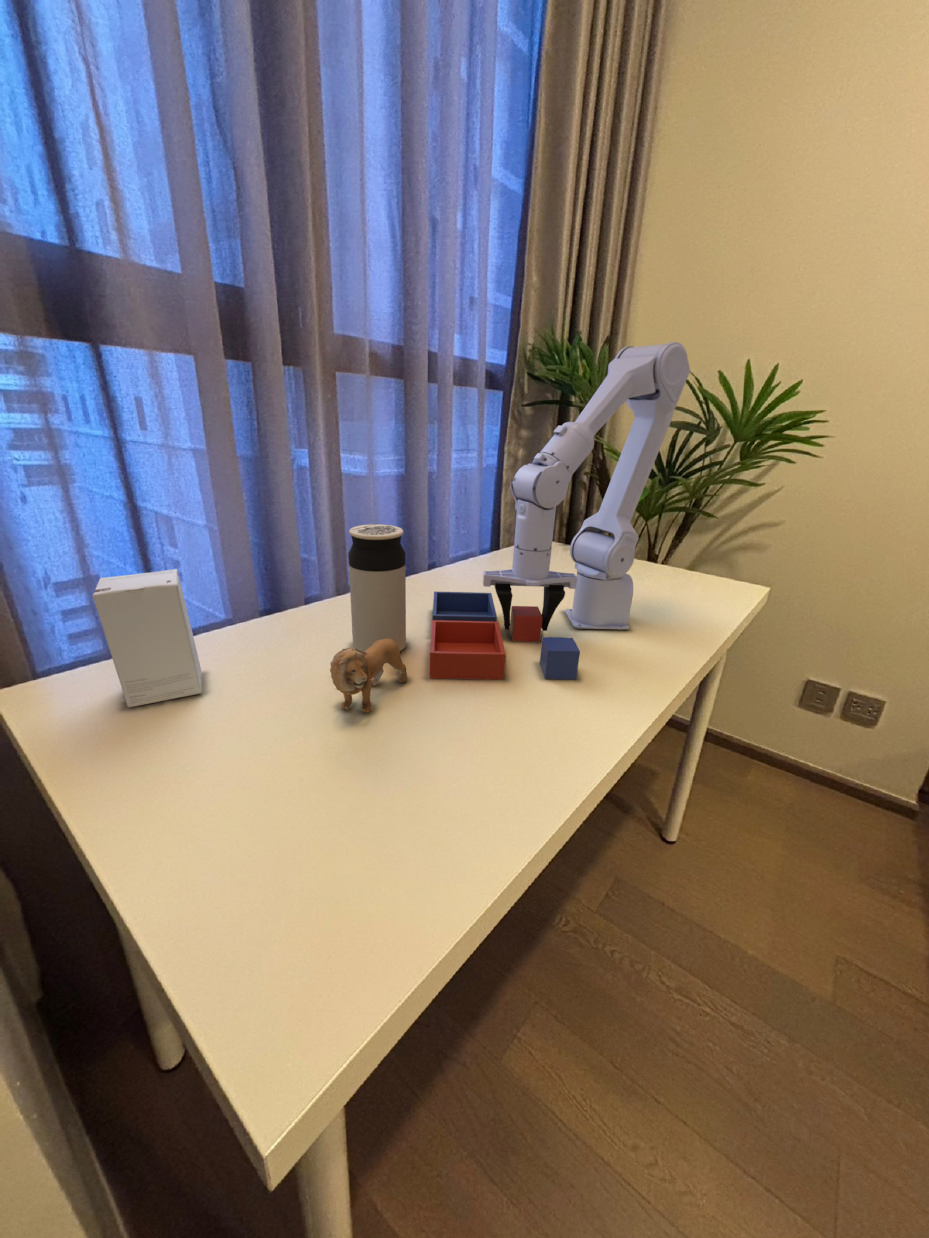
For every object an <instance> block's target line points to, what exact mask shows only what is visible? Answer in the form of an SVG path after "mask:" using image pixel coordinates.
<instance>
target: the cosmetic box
mask: <svg viewBox="0 0 929 1238" xmlns="http://www.w3.org/2000/svg"><path fill="white" fill-rule="evenodd" d="M92 599H93V602H94V605H95V609H96V611H97V614H98V617H99V620H100V623H101V627H102V630H103V633H104V636H105V637H104V638H105V641H106V644H107V646H108V649H109V653H110V655H111V658H112V662H113V665H114V668H115V671H116V674H117V678H118V681H119V684H120V687H121V691H122V693H123V697H124V699H125V703H126V705H127V706H126V707H127V708H134V707H138V706H143V705H149V704H153V703H158V702H163V701H168V700H173V699H179V698H184V697H190V696H194V695H200V694H202V692H203V691H202V689H203V688H202V687H203V686H202V685H203V683H202V682H203V681H202V679H203V678H202V667H201V663H200V659H199V658H200V657H199V655H198V650H197V646H196V642H195V637H194V634H193V630H192V625H191V621H190V617H189V612H188V608H187V604H186V599H185V595H184V591H183V586H182V583H181V579H180V574H179V571H178V569H177V568H174V569H167V570H166V569H165V570H158V571H150V572H142V573H134V574H125V575H117V576H116V575H115V576H107V577H100V578H99V580H98V583H97V585H96V587H95V589H94V592H93V594H92Z"/></svg>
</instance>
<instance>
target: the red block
mask: <svg viewBox="0 0 929 1238" xmlns="http://www.w3.org/2000/svg"><path fill="white" fill-rule="evenodd" d="M542 618H543V617H542V611H541V610H540V607H539V606H535V605H534V606H533V605H531V606H530V605H511V609H510V629H509V633H510V636H511V640H512V642H536V643H540V642H541V636H542V628H541V627H542Z"/></svg>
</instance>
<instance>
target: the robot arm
mask: <svg viewBox="0 0 929 1238" xmlns="http://www.w3.org/2000/svg"><path fill="white" fill-rule="evenodd" d="M688 358H689V357H688V354H687V350H686V348H685V346H684V345H683V344H682V343H680V342H678V341H670V342H668V343H661V344H650V345H641V346H632V345H629V346H625V347H623V348H621V349H620V350H619V352H617V354H616V355H615V357H614V359H612V360H611V361H610V362H609V363H608V364H607V365H608V366H607V374H606V376H605V378H604V379H603V380H602V382H601V384H600V385H599V386H598V388H597V389H596V390H595V393H594V394H593V395H592V397H591V398H590V400H588V402H587V403H586V405H585V407H584V408H583V410H582V411H581V412H580V414H579V415H578V417H576V419H575V420H574V421H567V422H564V423H563V424H562V425H557V426H556V428H554V430H553V436H552V437H550V440H549V441H548V442H547V443H546V444H545V446H544V447H543V448H542V449H541V450H540V452H537V453H536V455H535V456H534V457H533V460H532V462H531V463H527V464H524V465H522V466H521V467H520V468H519V469H518V471H517V472H516V473H515V474H514V477H513V480H512V481H511V482H510V483H509V488H510V489H509V490H510V493H511V495H512V497H513V500H514V510H515V511H516V515H515V530H514V541H513V553H512V554H513V555H512V567H511V569H501V570H500V569H499V570H483V573H482V575H483V576H482V583H483V584H482V586H483V587H488V588H489V587H492V586H494V589H495V594H496V596H497V598H498V602H499V603H500V607H501V610H502V616H503V617H502V618H503V627H504V630H505V631H510V620H511V607H512V602H513V601H512V600H513V592H512V587H542V588H543V601H542V611H541V614H542V617H543V618H542V627H541V631H542V632H547V631H548V629H549V625H550V622H551V620H552V617H553V615H554V613H555V612H556V610H557V609H558V607H559V606H560V604H561V602H562V601H563V600H564V599H565V596H566V591H565V588H568V589H570V590H574V592H573V600H572V607H571V608H566V609H565V610H564V612H565V615H566V616H567V618H568V620H569V621H570V624H572V626H573V628H574V629H585V630H629V629H630V626H629V621H630V614H631V610H632V609H631V608H632V603H633V599H634V598H633V597H634V580H633V577H632V576H631V574H629V573H628V572H629V571H630V569H631V568H632V566H633V564H634V562H635V557H636V556H635V554H636V547H637V544H638V541H639V539H640V538H639V535H638V533H637V531H636V530H635V528H634V526H633V525H632V523H631V521H632V519H633V517H634V514H635V512H636V510H637V507H638V504H639V501H640V499H641V497H642V494H643V492H644V488H645V487H646V484H647V482H648V480H649V477H650V475H651V471H652V469H653V467H654V466H655V465H654V464H655V462H656V460H657V457H658V454H659V452H660V450H661V447H662V445H663V442H664V440H665V438H666V435H667V432H668V431H669V428H670V425H671V422H672V420H673V417H674V413H675V409H676V407H677V405H678V403H679V400H680V398H681V395H682V392H683V390H684V388H685V385H686V382H687V380H688V378H689V375H690V373H691V368H690V364H689V359H688ZM624 404H626V406H627V407H628V408H629V410H632V413H633V416H634V419H633V421H632V423H631V424H632V425H631V427H630V429H629V431H628V435H627V438H626V440H625V442H624V444H623V448H622V450H621V453H620V455H619V458H618V461H617V463H616V465H615V468H614V471H613V473H612V476H611V479H610V481H609V484H608V487H607V489H606V492H605V494H604V496H603V499H602V502H601V504H600V507H599V509H598V511H597V512H596V513H594V514H592V515H591V516H589V517H587V518H586V519H584V520H583V521H582V525H581V527H580V529H579V531H578V532H577V533H576V534H575V535H574V536H573V538H572V540H571V542H570V545H569V555H570V558H571V560H572V561H573V562H574V569H575V570H576V573H572V572H571V573H570V572H562V571H555V570H554V571H553V570H550V568H551V567H550V566H551V560H552V559H551V558H552V549H553V538H554V530H555V521H556V519H555V518H556V510H557V506H558V505H560V504H561V503H562V502H563V501H564V500H565V499H566V497H567V493H568V489H569V484H570V482H571V481H572V478H573V475H574V473H575V472H576V471H577V470H578V468H579V467H580V466H581V465H582V463H583V462H584V461H585V460H586V458H587V457H588V456H589V455H590V454H591V452H592V451H593V450H594V446H595V441H594V440H595V439H594V436H595V435H596V434H597V433H598V432H599V431H600V429H601V428H602V427H603V426H604V425H605V424H606V423H607V422H608V421H609V420H610V419H611V418H612V416H613V415H614V414H616V412H617V411H618V410H619V409H621V407H622V406H623V405H624ZM607 534H611V535H613V536H610V535H607Z"/></svg>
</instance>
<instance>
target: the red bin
mask: <svg viewBox="0 0 929 1238" xmlns="http://www.w3.org/2000/svg"><path fill="white" fill-rule="evenodd" d="M429 643H430V645H429V679H440V680H441V679H443V680H448V679H449V680H500V681H501V680H502V681H503V680H505V674H506V673H505V671H506V659H507V653H506V648H505V644H504V640H503V637H502V632H501V628H500V624H499V621H497V622H491V621H447V620H432V619H431V629H430V642H429Z"/></svg>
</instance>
